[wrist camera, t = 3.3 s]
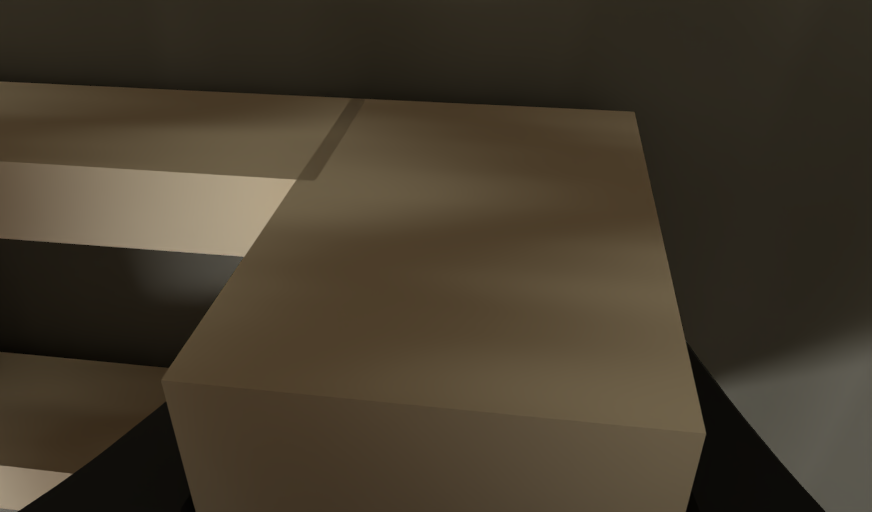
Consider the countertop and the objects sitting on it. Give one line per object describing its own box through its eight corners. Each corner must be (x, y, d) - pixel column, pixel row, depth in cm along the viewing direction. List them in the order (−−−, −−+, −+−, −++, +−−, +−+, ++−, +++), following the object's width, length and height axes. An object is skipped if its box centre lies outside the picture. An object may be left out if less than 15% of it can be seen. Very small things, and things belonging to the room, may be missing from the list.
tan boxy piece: (652, -14, 8) (761, 224, 4) (576, 511, 13) (583, 898, 9) (-259, -39, 10) (-975, 113, 5) (-30, 444, 15) (-301, 743, 10)
